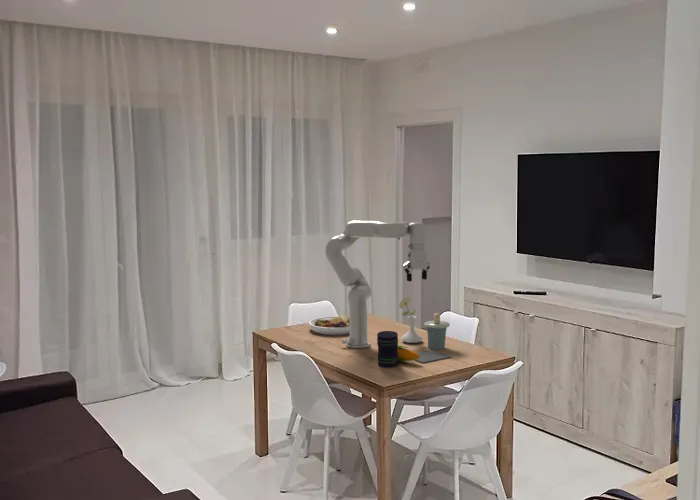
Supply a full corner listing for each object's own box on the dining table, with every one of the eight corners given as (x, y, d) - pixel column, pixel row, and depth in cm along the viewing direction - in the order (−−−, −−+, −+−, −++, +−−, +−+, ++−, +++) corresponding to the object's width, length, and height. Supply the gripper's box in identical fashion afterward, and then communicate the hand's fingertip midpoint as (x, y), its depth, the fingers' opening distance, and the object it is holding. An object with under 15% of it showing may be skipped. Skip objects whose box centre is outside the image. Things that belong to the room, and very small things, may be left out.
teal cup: (429, 344, 352) (429, 322, 350) (448, 346, 348) (448, 323, 347) (425, 349, 342) (425, 326, 341) (444, 351, 339) (444, 328, 337)
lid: (435, 329, 335) (436, 317, 334) (419, 324, 345) (419, 313, 345) (454, 326, 342) (455, 314, 341) (437, 321, 353) (438, 310, 352)
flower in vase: (416, 338, 365) (417, 293, 362) (426, 343, 354) (426, 297, 351) (395, 340, 360) (395, 295, 357) (403, 345, 350) (403, 299, 347)
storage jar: (402, 362, 317) (401, 332, 314) (391, 369, 309) (390, 338, 306) (384, 359, 322) (384, 329, 320) (373, 365, 315) (372, 335, 312)
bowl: (302, 327, 394) (302, 314, 393) (348, 322, 406) (348, 309, 405) (319, 338, 367) (319, 324, 366) (369, 333, 378) (369, 319, 378)
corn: (385, 341, 328) (423, 346, 319) (384, 357, 329) (422, 362, 320) (378, 344, 322) (417, 349, 313) (378, 359, 322) (417, 365, 313)
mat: (422, 363, 317) (422, 362, 317) (404, 356, 329) (404, 355, 329) (451, 357, 327) (451, 356, 327) (432, 351, 339) (432, 350, 339)
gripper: (407, 248, 328) (407, 282, 330) (434, 246, 337) (434, 279, 339) (398, 247, 334) (398, 280, 336) (425, 245, 343) (425, 277, 345)
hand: (416, 280), depth 338 cm, fingers open, 9 cm apart
